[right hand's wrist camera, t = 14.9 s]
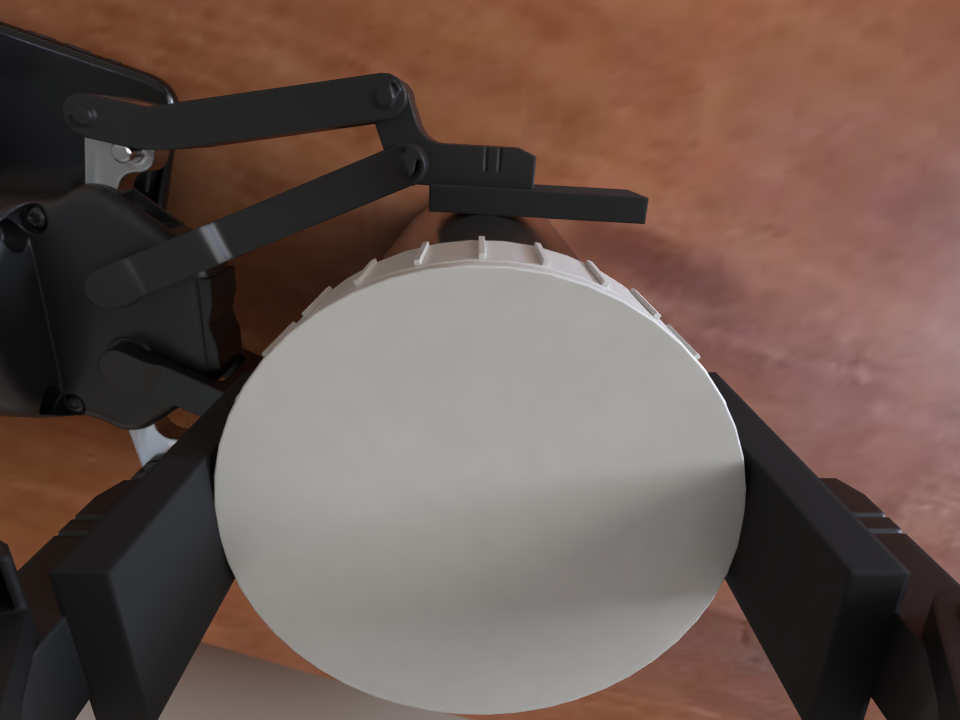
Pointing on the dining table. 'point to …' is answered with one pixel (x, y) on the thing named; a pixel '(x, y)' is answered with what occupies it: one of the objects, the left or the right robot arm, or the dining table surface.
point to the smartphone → (61, 112)
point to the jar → (478, 231)
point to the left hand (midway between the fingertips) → (615, 337)
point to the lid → (479, 481)
